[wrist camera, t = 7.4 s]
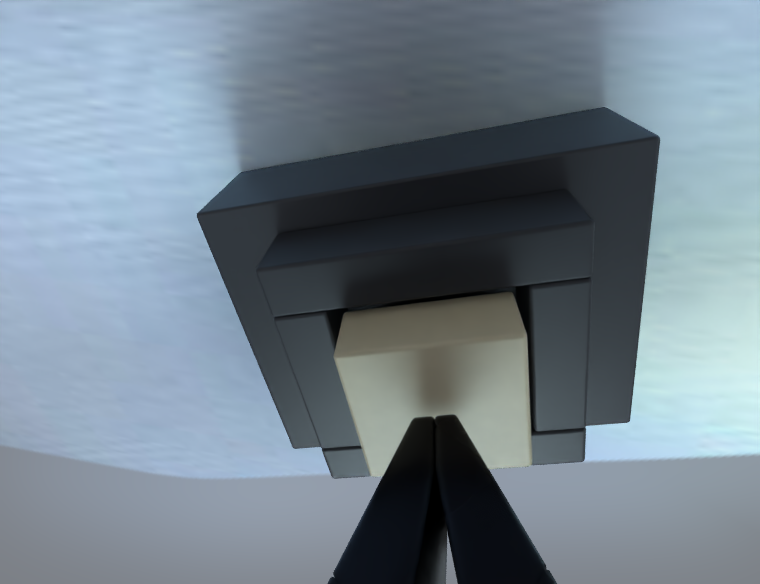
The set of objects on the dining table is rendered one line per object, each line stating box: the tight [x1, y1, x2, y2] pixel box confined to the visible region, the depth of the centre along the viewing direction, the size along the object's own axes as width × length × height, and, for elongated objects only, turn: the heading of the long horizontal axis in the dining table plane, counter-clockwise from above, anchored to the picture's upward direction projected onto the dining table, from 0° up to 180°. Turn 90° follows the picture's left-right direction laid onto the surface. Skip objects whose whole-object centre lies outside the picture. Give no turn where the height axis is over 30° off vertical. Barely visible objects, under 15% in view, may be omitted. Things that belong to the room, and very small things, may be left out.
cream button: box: [333, 292, 532, 477], centre depth 10 cm, size 4×4×2 cm
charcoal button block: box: [197, 107, 660, 478], centre depth 13 cm, size 10×8×5 cm
